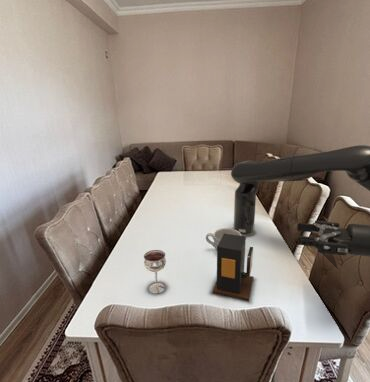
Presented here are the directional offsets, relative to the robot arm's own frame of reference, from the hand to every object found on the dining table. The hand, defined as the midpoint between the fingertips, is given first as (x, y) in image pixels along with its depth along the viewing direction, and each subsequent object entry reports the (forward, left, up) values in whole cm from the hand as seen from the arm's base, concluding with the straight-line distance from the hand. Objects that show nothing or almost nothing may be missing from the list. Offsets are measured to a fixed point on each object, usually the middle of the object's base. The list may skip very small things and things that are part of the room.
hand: (297, 232), depth 67 cm
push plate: (-1, -12, -16) cm, 20 cm away
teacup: (-21, -25, -22) cm, 39 cm away
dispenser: (-1, -18, -22) cm, 28 cm away
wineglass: (+8, -40, -22) cm, 46 cm away
